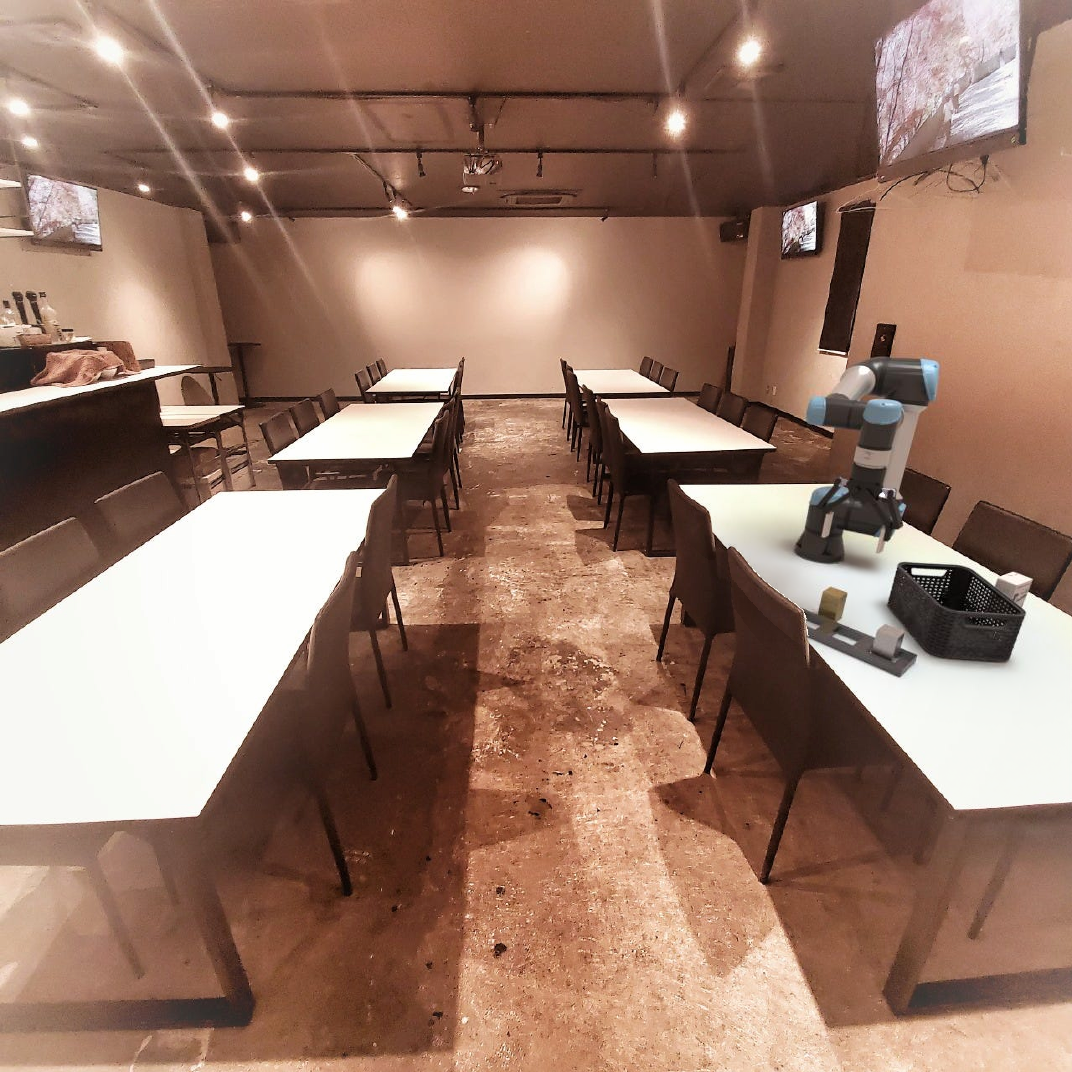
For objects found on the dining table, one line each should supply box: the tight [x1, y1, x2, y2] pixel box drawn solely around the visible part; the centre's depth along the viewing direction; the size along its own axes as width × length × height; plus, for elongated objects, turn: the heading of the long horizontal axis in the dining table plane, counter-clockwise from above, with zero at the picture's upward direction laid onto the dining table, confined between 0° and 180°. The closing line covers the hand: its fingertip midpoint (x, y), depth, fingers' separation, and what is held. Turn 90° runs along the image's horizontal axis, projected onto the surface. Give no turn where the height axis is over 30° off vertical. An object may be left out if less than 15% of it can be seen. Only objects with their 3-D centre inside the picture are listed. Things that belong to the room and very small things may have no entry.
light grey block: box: [870, 623, 906, 663], centre depth 142 cm, size 5×5×8 cm
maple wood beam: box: [817, 586, 848, 623], centre depth 159 cm, size 5×5×8 cm
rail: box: [801, 607, 918, 678], centre depth 149 cm, size 30×9×2 cm, turn 40°
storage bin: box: [886, 561, 1027, 662], centre depth 153 cm, size 29×19×13 cm
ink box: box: [986, 571, 1034, 622], centre depth 160 cm, size 9×5×12 cm, turn 117°
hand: (851, 543), depth 152 cm, fingers open, 13 cm apart
